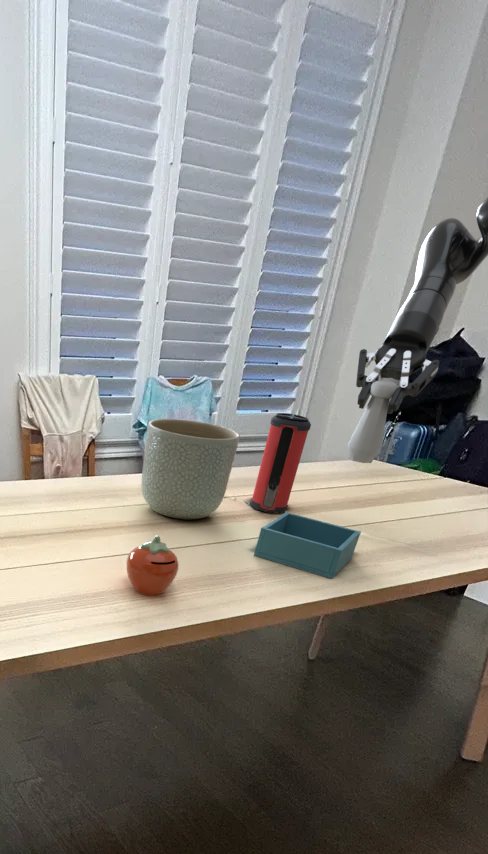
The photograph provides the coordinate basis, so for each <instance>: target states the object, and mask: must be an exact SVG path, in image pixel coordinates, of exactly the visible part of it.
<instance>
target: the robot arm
mask: <svg viewBox="0 0 488 854" xmlns="http://www.w3.org/2000/svg"><path fill="white" fill-rule="evenodd" d="M476 224H477V228H478V230H479V233H480V235H481V236H479V238H477V239H476V238H475V237H474V236H473V235H472V233H471V232H470V230H469V229H468V228H467V227H466V226H465V224H464V223H463V222H462V221H461V220H460V219H458V218H455V217H449V218H445V219H444V220H443V219H442V220H441V221H440V222H438V223H437V224H436V225H435V226H433V227H432V229H430V231H429V232H428V233H427V235H426V237H425V239H424V241H423V242H422V244H421V246H420V249H419V253H418V257H417V262H416V268H415V275H414V281H413V282H414V283H413V285H412V287H411V289H410V291H409V293H408V295H407V297H406V299H405V301H404V303H403V304H402V306H401V307H400V308H399V310H398V312H397V314H396V316H395V318H394V321H393V322H392V324H391V326H390V328H389V331H388V333H387V335H386V336H385V339H384V341H383V342H382V345H381V346H380V347H379V348H377V350H375V351H371V352H368V350H367V349H365V348H363V349H360V351H359V354H358V364H357V373H356V383H355V387H357V388H361V390H360V392H359V394H358V396H357V405H358V409H361V410H362V409H364V408H365V407H366V404H367V402H368V401H369V399H370V397H371V395H370V393H369V392H370V388H371V386H372V384H373V383H374V382H375V381H384V379H392V380H396V381H398V382H399V383H398V387H397V389H396V391H395V393H394V395H393V397H392V398H391V399H390V400H389V405H388V410H387V415H388V414H389V415H392V414H393V412H397V411H398V410H399V408H400V406H401V404H402V403H403V399H404V398H405V397H407V396H410V397H412V398H413V397H417V396H418V395H419V394H420V393H421V391H423V389H424V388H425V387H427V385H428V384H429V383H430V382H431V381H432V380H433V379H434V378H435V377H436V375H437V373H438V371H439V365H440V360H439V359H433V360H428V359H427V353H428V351H429V350H430V347H431V345H432V343H433V341H434V339H435V336H436V335H437V333H439V330H440V327H441V324H442V323H443V322H442V321H443V319H444V315H445V312H446V311H447V309H448V306H449V304H450V302H451V300H452V298H453V297H454V294H455V290H456V287H457V285H458V284H461V283H463V282H464V281H466V280H467V279H469V277H470V276H472V275H473V274H474V272H475V271H476V270H478V268H479V266H481V264H482V263H483V262H484V261H485V260H486V259H487V257H488V196H487V197H486V198H484V200H483V201H482V202H481V203H480V204H479V206H478V207H477V210H476ZM372 362H375V366H374V367H373V369H372V371H371V372H370V373H369V374H368V375H366V374H365V373H366V371H365V370H366V368H368V367H369V366H370V365H371V363H372ZM421 369H422V370H421ZM419 370H421V373H419V375H418V376H417V377H416V378H415V379H414V380H413V381H412V382H409V379H410V377H409V376H411V375H413V374H414V373H416V372H418V371H419Z"/></svg>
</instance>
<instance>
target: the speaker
mask: <svg viewBox="0 0 488 854" xmlns="http://www.w3.org/2000/svg"><path fill="white" fill-rule="evenodd" d="M269 422H270V426H269V431H268V434H267V439H266V443H265V445H264V446H265V447H264V450H263V455H262V458H261V463H260V466H259V471H258V473H257V478H256V481H255V486H254V490H253V494H252V497H251V499H250V501H249V505H250V506H251V507H252V508H253V509H254V510H256V511H259V512H263V513H266V514H272V515H273V514H281V515H282V514H284V513H286V511H287V510H288V506H289V505H288V503H289V500H290V497H291V493H292V489H293V487H294V482H295V479H296V476H297V472H298V468H299V465H300V462H301V458H302V454H303V450H304V447H305V443H306V442H307V441H306V440H307V437H308V434H309V431H310V430H311V426H312V424H311V422H310V421H309V418H308V417H306V416H303V415H299V414H293V413H286V412H285V413H284V412H280V413H279V412H278V413H276V415H274V416H272V417H271V419H270V421H269Z"/></svg>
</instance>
